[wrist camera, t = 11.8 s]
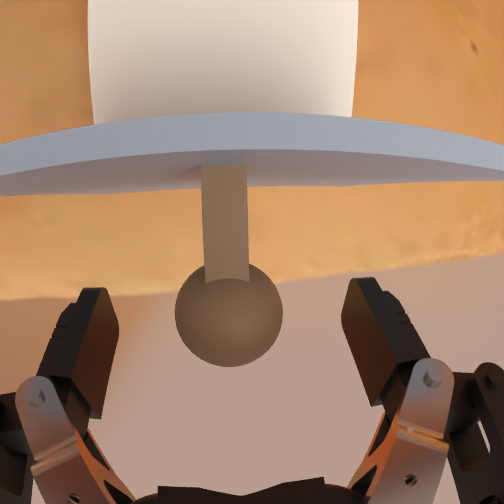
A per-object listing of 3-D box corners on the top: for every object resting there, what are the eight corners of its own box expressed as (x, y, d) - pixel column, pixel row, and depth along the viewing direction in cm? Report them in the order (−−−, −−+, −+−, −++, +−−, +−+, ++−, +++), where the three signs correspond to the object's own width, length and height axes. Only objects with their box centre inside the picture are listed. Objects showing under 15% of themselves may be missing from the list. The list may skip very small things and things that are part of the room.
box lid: (-99, 180, 4) (-60, 386, 5) (551, 160, 5) (528, 358, 6) (108, 186, 22) (113, 262, 23) (338, 178, 23) (338, 254, 24)
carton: (128, -34, 19) (93, -64, 11) (318, -37, 20) (357, -68, 12) (134, 150, 30) (103, 188, 22) (310, 145, 32) (343, 181, 23)
